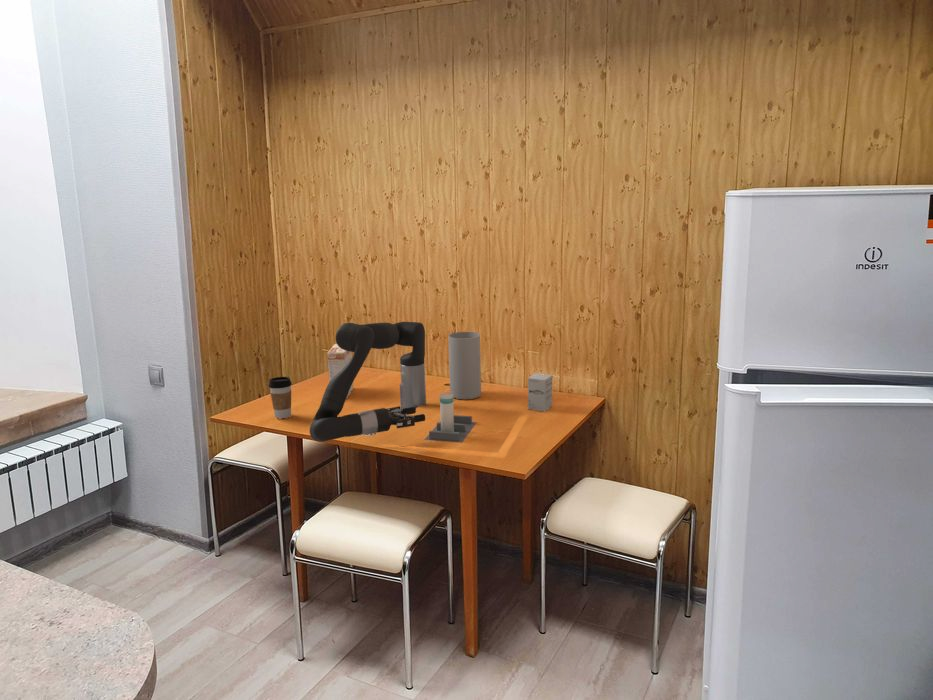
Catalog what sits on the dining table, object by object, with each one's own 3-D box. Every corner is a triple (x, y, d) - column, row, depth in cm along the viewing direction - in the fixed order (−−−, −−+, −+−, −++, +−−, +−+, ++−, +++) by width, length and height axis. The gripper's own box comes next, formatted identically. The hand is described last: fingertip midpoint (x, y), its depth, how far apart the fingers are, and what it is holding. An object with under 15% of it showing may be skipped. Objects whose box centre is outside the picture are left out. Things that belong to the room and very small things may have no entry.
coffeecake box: (337, 388, 307) (334, 343, 303) (354, 388, 307) (351, 343, 302) (329, 399, 293) (326, 352, 288) (347, 399, 293) (344, 352, 288)
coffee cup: (267, 419, 271) (263, 380, 268) (280, 412, 279) (276, 374, 275) (286, 421, 268) (282, 382, 265) (298, 414, 276) (295, 376, 272)
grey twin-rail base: (424, 443, 243) (423, 432, 242) (442, 423, 261) (441, 413, 260) (461, 446, 239) (461, 435, 238) (477, 426, 258) (476, 415, 257)
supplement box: (527, 409, 274) (527, 377, 271) (534, 404, 280) (534, 372, 277) (545, 412, 270) (545, 379, 267) (552, 406, 277) (552, 374, 274)
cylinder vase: (454, 401, 286) (452, 339, 280) (447, 392, 298) (445, 333, 292) (484, 398, 289) (483, 337, 283) (476, 389, 300) (475, 330, 294)
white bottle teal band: (439, 436, 244) (437, 396, 241) (443, 431, 249) (441, 392, 245) (452, 437, 243) (451, 397, 240) (456, 432, 247) (455, 393, 244)
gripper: (379, 416, 226) (427, 408, 232) (365, 404, 238) (411, 396, 245) (380, 439, 228) (428, 430, 234) (366, 425, 240) (412, 418, 247)
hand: (420, 413), depth 240 cm, fingers open, 8 cm apart
